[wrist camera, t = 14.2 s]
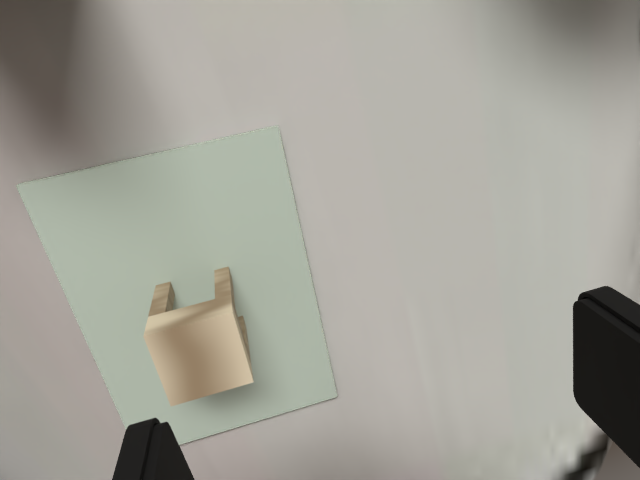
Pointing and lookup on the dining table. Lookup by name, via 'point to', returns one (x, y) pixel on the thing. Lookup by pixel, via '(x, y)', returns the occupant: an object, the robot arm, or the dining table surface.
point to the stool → (198, 343)
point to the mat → (188, 272)
